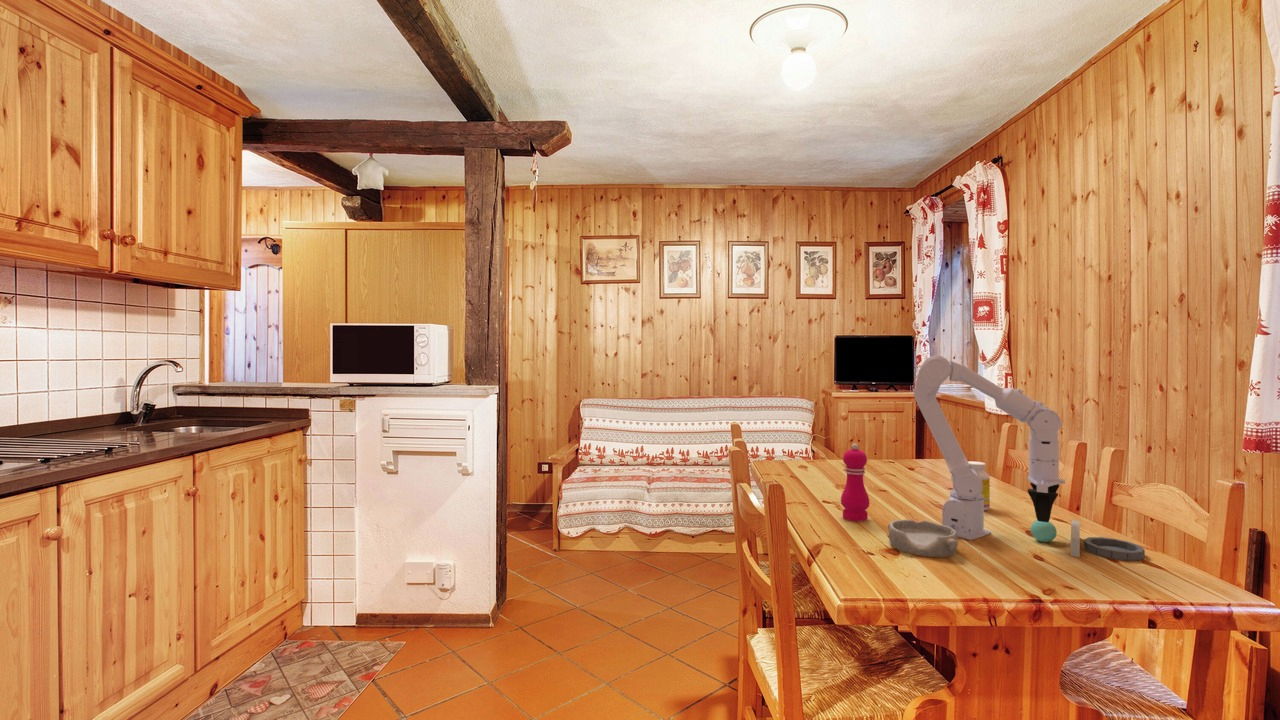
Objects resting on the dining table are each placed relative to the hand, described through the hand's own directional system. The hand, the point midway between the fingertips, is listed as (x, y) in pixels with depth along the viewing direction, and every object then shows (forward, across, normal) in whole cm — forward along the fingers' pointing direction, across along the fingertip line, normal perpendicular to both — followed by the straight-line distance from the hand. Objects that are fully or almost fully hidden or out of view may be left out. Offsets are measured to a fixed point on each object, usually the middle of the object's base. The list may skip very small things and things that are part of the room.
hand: (1043, 517), depth 134 cm
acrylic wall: (+6, 0, -6) cm, 8 cm away
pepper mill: (+6, -6, +41) cm, 42 cm away
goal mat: (+6, 0, -12) cm, 14 cm away
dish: (+6, -21, +22) cm, 31 cm away
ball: (+3, 0, 0) cm, 3 cm away
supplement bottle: (+6, +23, +17) cm, 29 cm away
